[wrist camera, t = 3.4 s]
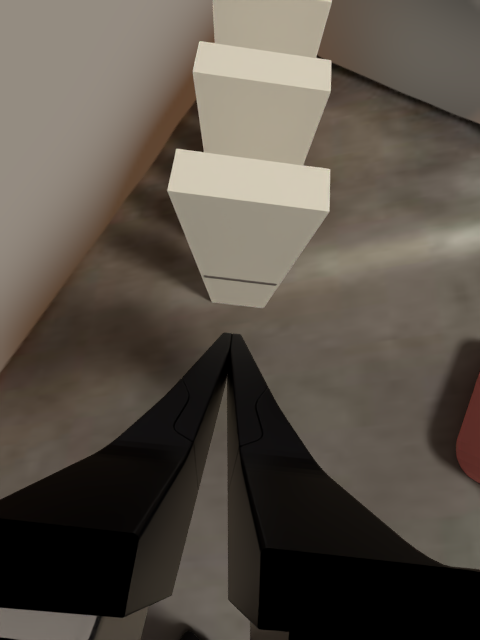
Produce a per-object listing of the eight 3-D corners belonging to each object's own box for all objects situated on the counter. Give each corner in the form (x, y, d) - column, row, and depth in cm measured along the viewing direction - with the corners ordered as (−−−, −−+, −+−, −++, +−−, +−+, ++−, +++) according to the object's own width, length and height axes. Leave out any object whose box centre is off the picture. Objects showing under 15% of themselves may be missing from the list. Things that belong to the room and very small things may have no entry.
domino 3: (270, 218, 19) (331, 3, 7) (224, 212, 19) (211, -16, 7) (271, 204, 20) (332, -22, 8) (226, 198, 19) (216, -41, 8)
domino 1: (263, 308, 17) (329, 213, 6) (211, 302, 17) (166, 192, 5) (264, 292, 18) (330, 168, 6) (214, 286, 18) (176, 147, 6)
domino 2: (267, 261, 18) (330, 92, 6) (218, 255, 18) (192, 72, 6) (268, 246, 19) (331, 59, 7) (220, 240, 18) (199, 40, 7)
